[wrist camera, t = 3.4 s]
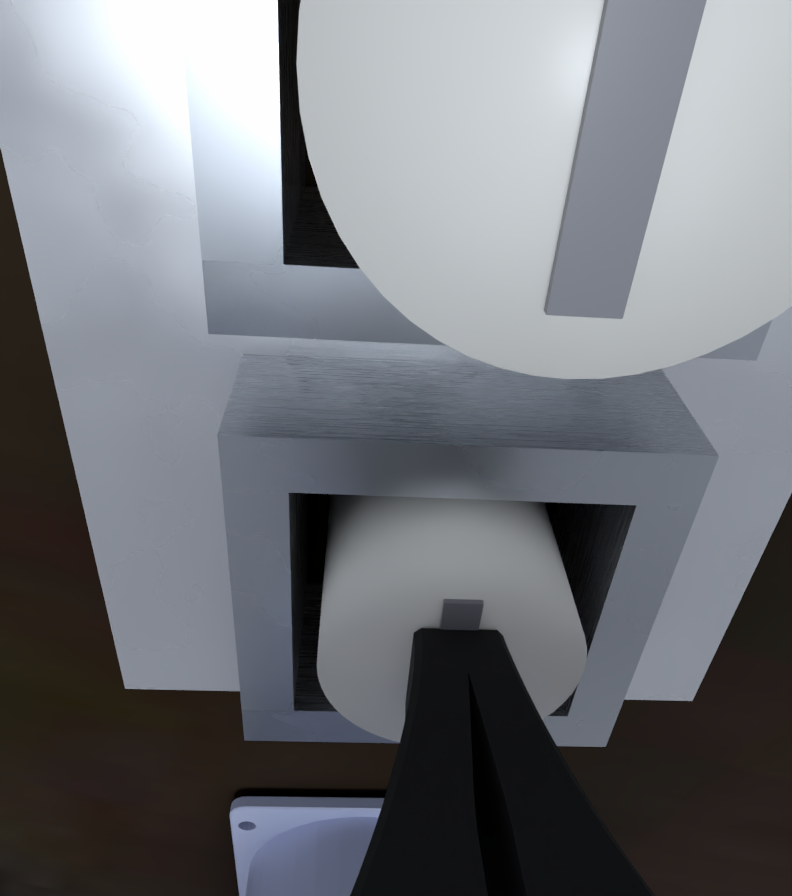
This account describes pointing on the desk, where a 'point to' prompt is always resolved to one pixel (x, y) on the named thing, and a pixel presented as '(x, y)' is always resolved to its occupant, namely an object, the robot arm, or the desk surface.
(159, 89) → the mount
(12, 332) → the desk surface
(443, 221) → the knob
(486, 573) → the knob
